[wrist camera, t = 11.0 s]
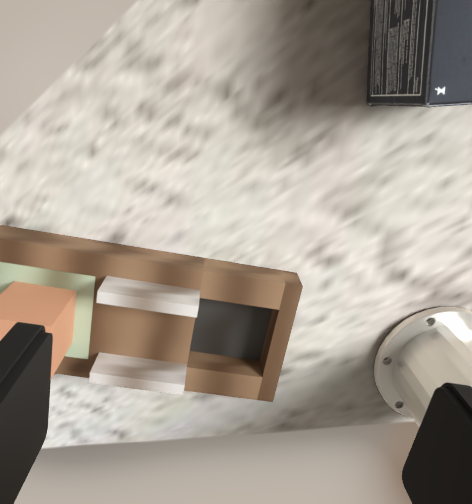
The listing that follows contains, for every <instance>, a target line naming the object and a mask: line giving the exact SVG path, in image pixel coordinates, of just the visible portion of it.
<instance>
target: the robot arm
mask: <svg viewBox="0 0 472 504" xmlns="http://www.w3.org/2000/svg"><path fill="white" fill-rule="evenodd" d="M52 345H53V335H52V333H48V332H46V330H45V327H44V325H37V324H30V323H23V322H17V323H16V324H15V325H14V326H13V327H12V328H11V329H10V330H9V332H8V333H7V334H6V335H5V336H4V337H3V338H2V339H1V341H0V504H14V501H15V499H16V498H17V496H18V493H19V491H20V489H21V487H22V485H23V483H24V481H25V479H26V477H27V475H28V473H29V471H30V469H31V467H32V465H33V463H34V461H35V459H36V457H37V455H38V453H39V451H40V449H41V447H42V445H43V443H44V440H45V437H46V434H47V428H48V413H49V396H50V379H51V362H52ZM374 378H375V382H376V385H377V388H378V390H379V392H380V394H381V396H382V397H383V399H384V400H385V401H386V403H387V404H388V405H389V406H390V407H391V408H392V409H393V410H395V411H396V412H398V413H400V414H402V415H404V416H407V417H410V418H413V419H414V420H415V422H416V423H417V425H418V426H419V430H418V433H417V435H416V438H415V440H414V443H413V445H412V448H411V450H410V452H409V456H408V458H407V460H406V462H405V465H404V468H403V471H402V480H403V484H404V487H405V489H406V491H407V493H408V495H409V497H410V499H411V501H412V504H472V311H470V310H467V309H464V308H458V307H437V308H432V309H427V310H425V311H422V312H419V313H416V314H414V315H413V316H411V317H409V318H407V319H405V320H404V321H403V322H401V323H400V324H399V325H397V326H396V327H395V328H394V329H393V330H392V331H391V332H390V333H389V334H388V335H387V337H386V338H385V339H384V341H383V343H382V344H381V346H380V348H379V350H378V353H377V355H376V358H375V364H374Z"/></svg>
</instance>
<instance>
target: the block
mask: <svg viewBox="0 0 472 504" xmlns="http://www.w3.org/2000/svg"><path fill="white" fill-rule="evenodd" d="M76 295H77V291H75V290H68V289H62V288H56V287H49V286H43V285H37V284H30V283H24V282H18V281H14V282H13V283H12V284H11V285H10V286H9V287H8V288H7V289H6V290H4V291H3V292H2V293H1V294H0V341H1V339H2V338H3V337H4V336H5V335H6V334H7V333H8V332H9V330H10V329H11V328H12V327H13V326H14V325H15V324H16V323H17V322H23V323H30V324H37V325H44V327H45V330H46V332H48V333H52V335H53V345H52V362H51V378H52V377H53V375H54V373H55V371H56V370H57V368H58V366H59V365H60V363H61V361H62V359H63V358H64V356H65V354H66V353H67V351H68V349H69V347H70V346H71V344H72V340H73V329H74V317H75V306H76ZM50 380H51V379H50Z"/></svg>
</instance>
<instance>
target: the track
mask: <svg viewBox="0 0 472 504" xmlns="http://www.w3.org/2000/svg"><path fill="white" fill-rule="evenodd" d="M14 281H18V282H24V283H30V284H37V285H43V286H49V287H56V288H62V289H68V290H75V291H77V295H76V306H75V317H74V329H73V340H72V344H71V346H70V347H69V349H68V351H67V353H66V354H65V356H64V358H63V359H62V361H61V363H60V365H59V366H58V368H57V370H56V371H55V373H56V374H63V375H71V376H79V377H86V378H89V383H95V384H102V385H110V386H118V387H125V388H133V389H141V390H149V391H156V392H164V393H172V394H179V395H183V393H184V390H186V391H193V392H201V393H209V394H216V395H224V396H232V397H239V398H247V399H255V400H262V401H270V402H273V399H274V395H275V391H276V387H277V383H278V379H279V375H280V372H281V368H282V364H283V360H284V356H285V352H286V349H287V345H288V341H289V337H290V333H291V329H292V326H293V322H294V318H295V314H296V310H297V306H298V302H299V299H300V295H301V291H302V287H303V286H302V284H301V282H300V279H299V277H298V275H297V273H294V272H288V271H281V270H275V269H269V268H263V267H257V266H250V265H244V264H238V263H232V262H226V261H220V260H213V259H207V258H201V257H195V256H189V255H182V254H176V253H170V252H164V251H158V250H152V249H145V248H139V247H133V246H127V245H121V244H114V243H108V242H102V241H96V240H90V239H84V238H77V237H71V236H65V235H59V234H53V233H46V232H40V231H34V230H28V229H22V228H16V227H9V226H3V225H2V226H0V294H1V293H2V292H3V291H4V290H6V289H7V288H8V287H9V286H10V285H11V284H12V283H13V282H14Z"/></svg>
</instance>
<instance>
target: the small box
mask: <svg viewBox="0 0 472 504" xmlns="http://www.w3.org/2000/svg"><path fill="white" fill-rule="evenodd" d="M370 9H371V16H370V37H369V61H368V89H367V103H368V104H369V105H370V106H371V107H372V106H377V105H378V106H379V105H388V106H422V107H436V106H453V105H468V104H472V0H371V8H370Z"/></svg>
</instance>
